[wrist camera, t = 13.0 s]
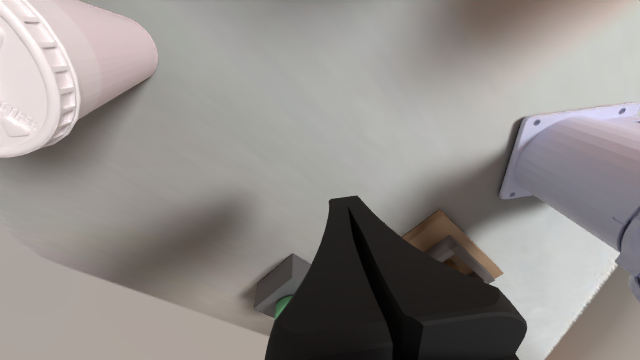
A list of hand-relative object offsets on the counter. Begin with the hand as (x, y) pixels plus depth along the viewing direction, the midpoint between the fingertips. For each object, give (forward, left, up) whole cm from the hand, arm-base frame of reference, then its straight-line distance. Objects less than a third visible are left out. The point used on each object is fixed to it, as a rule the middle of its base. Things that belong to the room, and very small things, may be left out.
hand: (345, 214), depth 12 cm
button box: (+5, +16, -9) cm, 19 cm away
